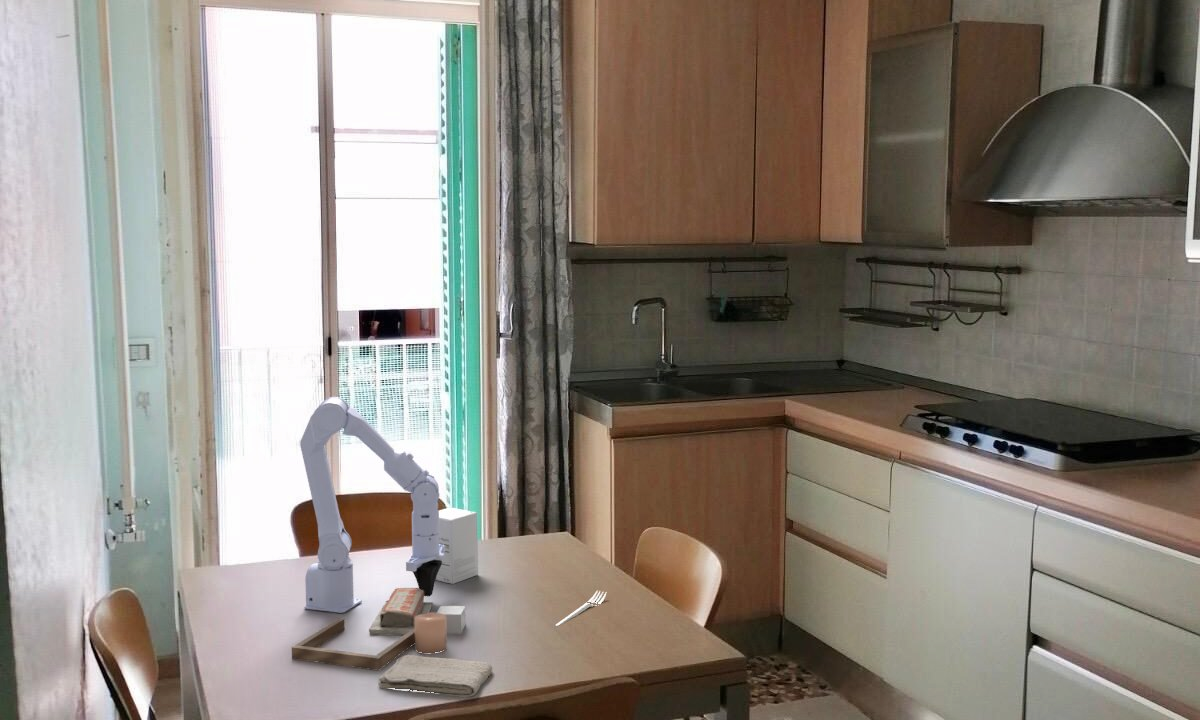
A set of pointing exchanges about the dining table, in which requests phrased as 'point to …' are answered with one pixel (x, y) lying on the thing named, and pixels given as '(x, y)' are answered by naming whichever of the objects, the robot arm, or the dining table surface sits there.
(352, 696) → the dining table surface
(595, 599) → the fork
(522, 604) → the dining table surface
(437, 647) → the peach pillar candle
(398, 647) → the open wooden frame
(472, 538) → the supplement box
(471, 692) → the washcloth
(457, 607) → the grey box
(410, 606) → the packaged product
